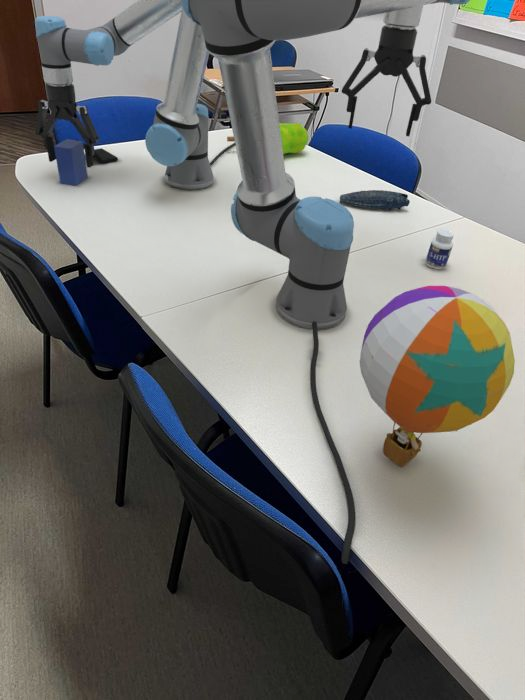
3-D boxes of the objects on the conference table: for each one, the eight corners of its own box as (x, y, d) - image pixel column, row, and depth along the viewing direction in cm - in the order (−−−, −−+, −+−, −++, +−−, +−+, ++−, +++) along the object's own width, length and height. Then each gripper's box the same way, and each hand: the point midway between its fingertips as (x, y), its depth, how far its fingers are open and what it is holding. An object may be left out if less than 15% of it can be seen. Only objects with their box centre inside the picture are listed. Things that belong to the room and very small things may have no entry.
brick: (87, 177, 161) (82, 141, 155) (76, 185, 156) (70, 148, 149) (72, 174, 162) (66, 138, 155) (60, 183, 156) (53, 146, 149)
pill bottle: (423, 266, 132) (433, 234, 126) (426, 257, 136) (435, 226, 130) (444, 271, 131) (455, 239, 125) (446, 262, 135) (457, 230, 129)
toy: (310, 447, 82) (343, 285, 63) (387, 396, 93) (435, 245, 74) (411, 535, 71) (486, 371, 52) (485, 466, 82) (569, 309, 63)
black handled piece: (122, 153, 174) (102, 132, 166) (111, 171, 173) (90, 150, 165) (101, 149, 181) (81, 128, 172) (90, 166, 179) (69, 146, 171)
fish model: (408, 214, 157) (412, 198, 153) (339, 207, 158) (341, 191, 154) (406, 206, 162) (410, 190, 159) (339, 199, 163) (341, 183, 160)
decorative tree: (224, 117, 189) (303, 117, 195) (224, 146, 196) (301, 145, 201) (231, 131, 176) (316, 130, 181) (230, 162, 182) (313, 160, 188)
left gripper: (106, 86, 144) (114, 164, 157) (26, 75, 146) (41, 153, 160) (93, 91, 138) (103, 173, 151) (11, 80, 140) (28, 161, 154)
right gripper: (458, 31, 111) (431, 133, 125) (343, 18, 114) (328, 119, 127) (461, 35, 106) (432, 142, 119) (340, 21, 108) (325, 127, 122)
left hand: (71, 163), depth 156 cm, fingers open, 11 cm apart
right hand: (378, 131), depth 123 cm, fingers open, 13 cm apart
